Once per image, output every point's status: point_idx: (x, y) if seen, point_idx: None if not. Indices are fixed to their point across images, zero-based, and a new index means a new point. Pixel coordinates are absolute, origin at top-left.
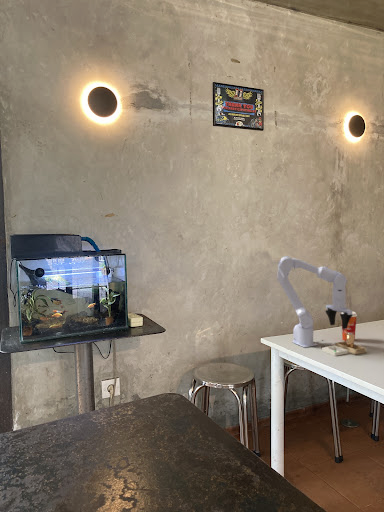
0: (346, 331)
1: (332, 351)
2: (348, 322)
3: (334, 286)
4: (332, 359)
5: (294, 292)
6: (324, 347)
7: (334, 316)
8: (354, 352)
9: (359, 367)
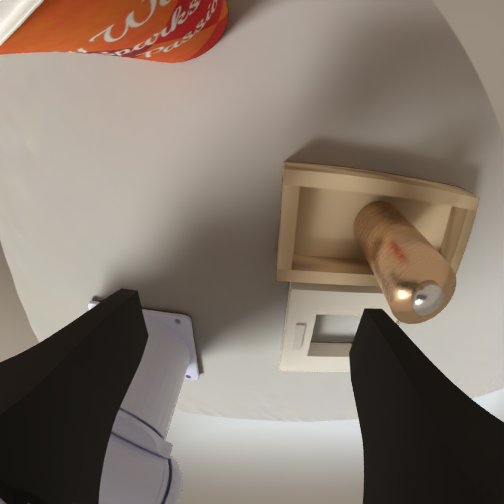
0: (169, 44)
1: None
2: (436, 370)
3: None
4: None
5: None
6: (285, 360)
7: (67, 382)
8: None
9: (479, 356)
